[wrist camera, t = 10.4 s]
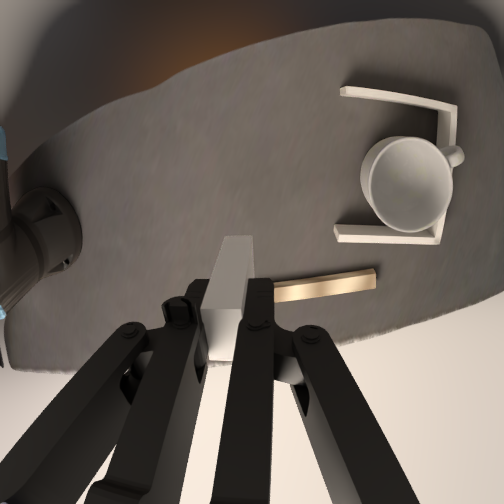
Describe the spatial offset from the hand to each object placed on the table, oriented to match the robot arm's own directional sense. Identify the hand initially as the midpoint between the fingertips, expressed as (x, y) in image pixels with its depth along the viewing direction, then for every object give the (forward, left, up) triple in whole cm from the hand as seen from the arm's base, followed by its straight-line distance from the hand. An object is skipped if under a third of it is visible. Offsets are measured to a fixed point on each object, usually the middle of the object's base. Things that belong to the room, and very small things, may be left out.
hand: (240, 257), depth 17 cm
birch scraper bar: (+5, -17, -23) cm, 29 cm away
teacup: (+18, +2, -23) cm, 30 cm away
